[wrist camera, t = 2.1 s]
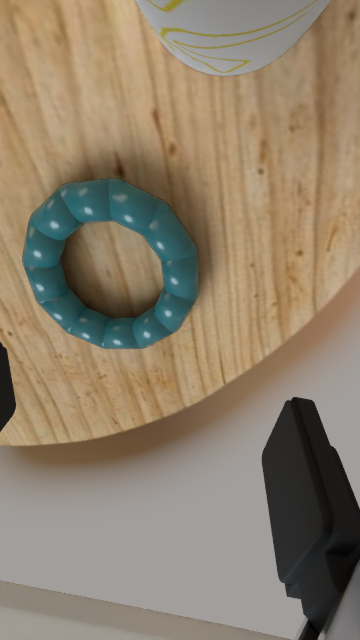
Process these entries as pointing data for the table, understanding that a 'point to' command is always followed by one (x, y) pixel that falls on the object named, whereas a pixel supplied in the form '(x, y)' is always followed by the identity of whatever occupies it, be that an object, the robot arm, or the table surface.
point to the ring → (134, 213)
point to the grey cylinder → (229, 30)
